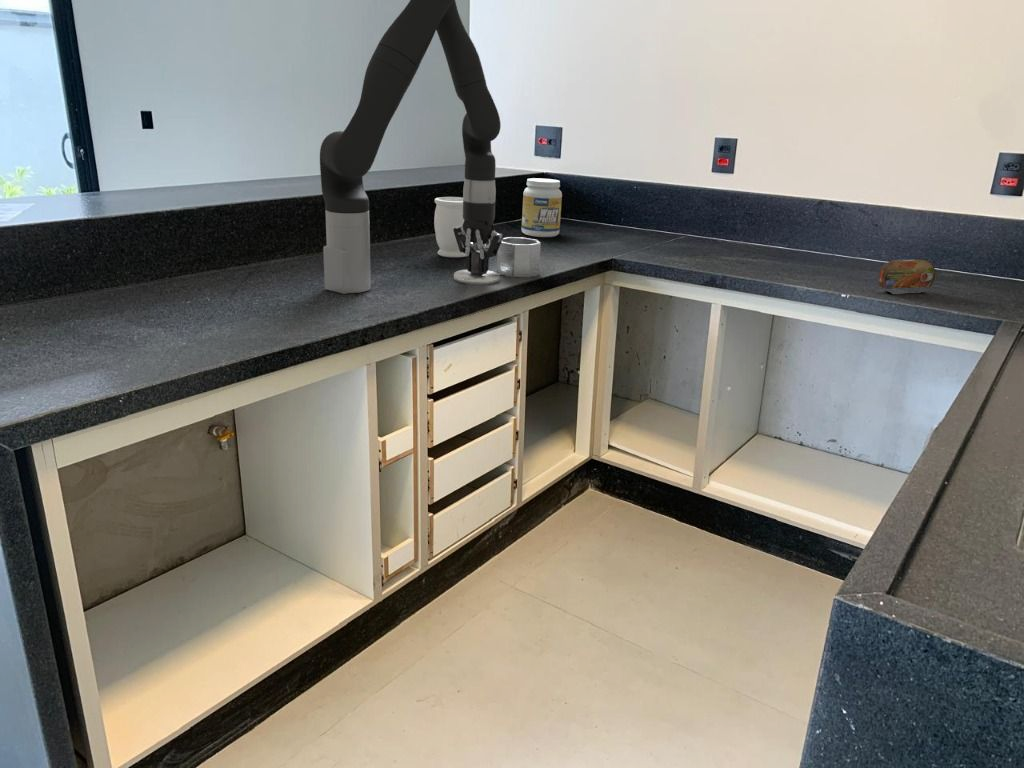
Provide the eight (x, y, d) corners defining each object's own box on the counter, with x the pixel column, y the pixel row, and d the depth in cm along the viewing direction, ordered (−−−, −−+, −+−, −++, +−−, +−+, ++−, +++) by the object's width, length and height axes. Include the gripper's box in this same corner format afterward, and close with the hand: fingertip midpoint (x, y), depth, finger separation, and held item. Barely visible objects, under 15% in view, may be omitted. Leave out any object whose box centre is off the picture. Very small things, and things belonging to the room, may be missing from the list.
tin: (881, 295, 194) (889, 261, 191) (873, 292, 197) (880, 258, 194) (932, 293, 198) (940, 260, 195) (923, 290, 201) (930, 257, 198)
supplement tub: (533, 238, 244) (536, 182, 238) (514, 231, 254) (516, 177, 248) (566, 236, 250) (570, 182, 244) (546, 230, 260) (549, 177, 254)
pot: (522, 279, 192) (524, 246, 189) (489, 272, 197) (491, 240, 194) (545, 273, 199) (547, 241, 197) (513, 266, 205) (514, 235, 202)
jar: (475, 252, 220) (476, 197, 214) (469, 260, 210) (471, 202, 205) (437, 250, 221) (438, 195, 215) (430, 257, 211) (431, 200, 206)
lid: (481, 287, 183) (482, 258, 180) (444, 279, 188) (444, 251, 186) (508, 279, 191) (509, 252, 189) (472, 272, 197) (473, 245, 195)
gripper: (445, 197, 184) (444, 270, 190) (493, 204, 176) (491, 280, 183) (465, 194, 190) (464, 265, 196) (513, 201, 182) (509, 275, 188)
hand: (477, 272), depth 189 cm, fingers closed on lid, 3 cm apart
